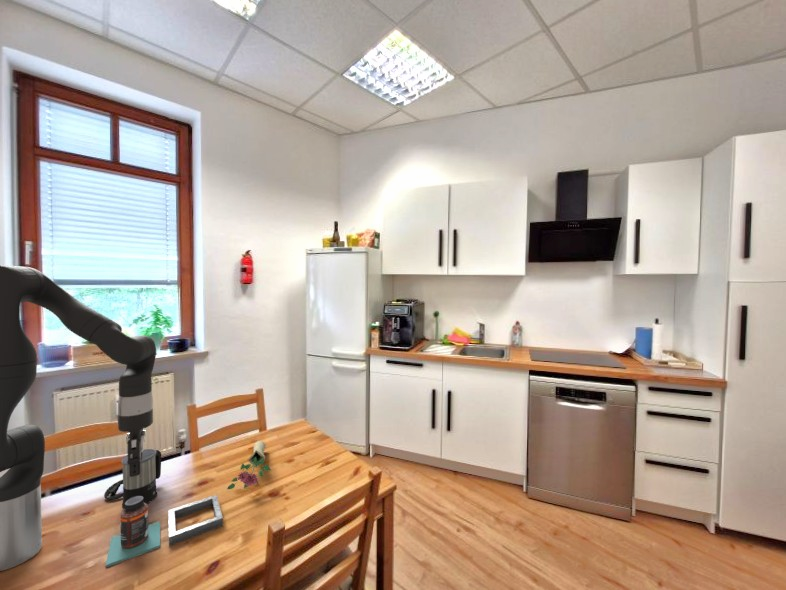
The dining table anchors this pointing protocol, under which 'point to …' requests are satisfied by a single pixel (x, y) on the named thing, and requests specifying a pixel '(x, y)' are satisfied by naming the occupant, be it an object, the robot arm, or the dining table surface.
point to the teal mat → (121, 554)
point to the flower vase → (255, 460)
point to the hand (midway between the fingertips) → (136, 468)
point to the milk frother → (138, 479)
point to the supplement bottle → (134, 522)
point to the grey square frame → (197, 528)
